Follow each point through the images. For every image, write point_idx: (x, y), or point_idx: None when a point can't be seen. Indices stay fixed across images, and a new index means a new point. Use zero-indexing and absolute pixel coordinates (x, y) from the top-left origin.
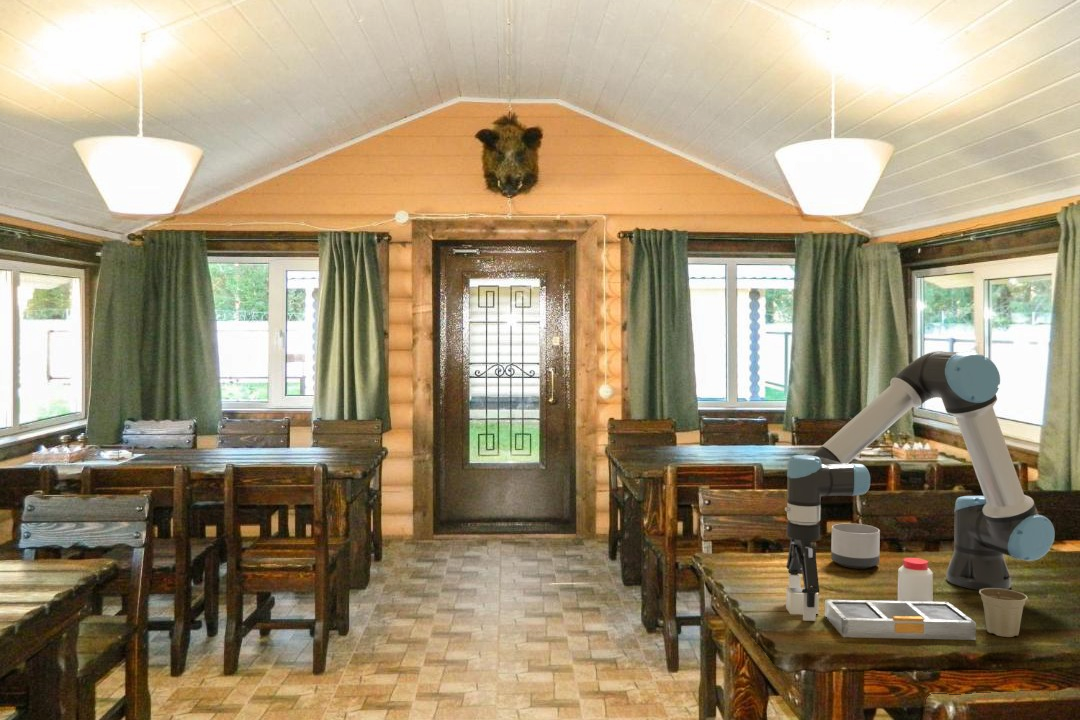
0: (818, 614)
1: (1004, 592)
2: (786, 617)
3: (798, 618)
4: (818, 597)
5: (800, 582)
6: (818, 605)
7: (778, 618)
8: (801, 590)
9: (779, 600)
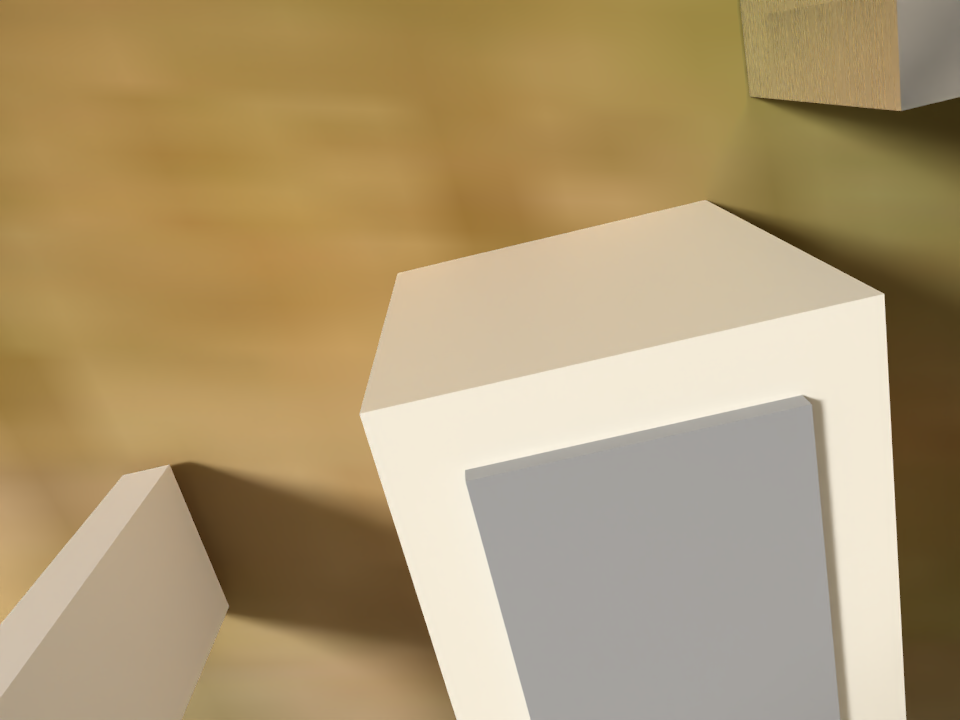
0: (709, 202)
1: None
2: None
3: (924, 480)
4: (840, 276)
5: (1, 705)
6: (759, 233)
7: (947, 692)
8: (722, 684)
9: None
